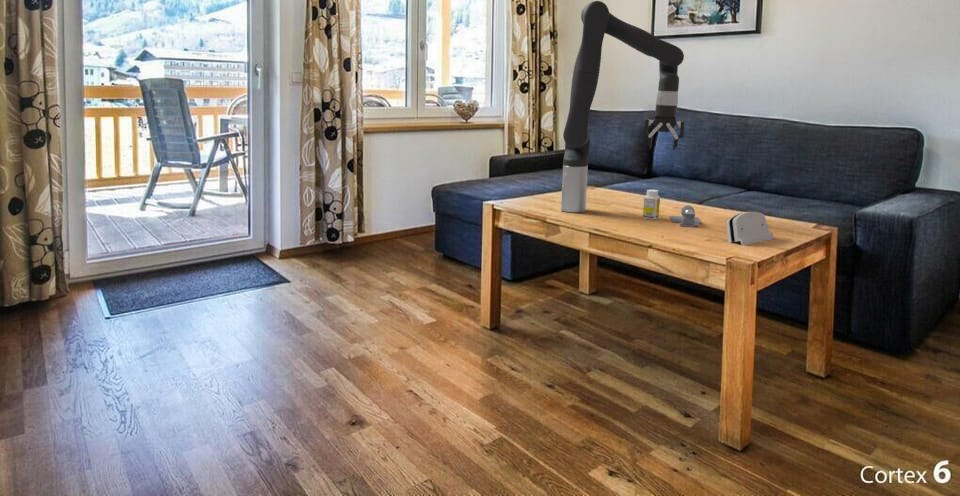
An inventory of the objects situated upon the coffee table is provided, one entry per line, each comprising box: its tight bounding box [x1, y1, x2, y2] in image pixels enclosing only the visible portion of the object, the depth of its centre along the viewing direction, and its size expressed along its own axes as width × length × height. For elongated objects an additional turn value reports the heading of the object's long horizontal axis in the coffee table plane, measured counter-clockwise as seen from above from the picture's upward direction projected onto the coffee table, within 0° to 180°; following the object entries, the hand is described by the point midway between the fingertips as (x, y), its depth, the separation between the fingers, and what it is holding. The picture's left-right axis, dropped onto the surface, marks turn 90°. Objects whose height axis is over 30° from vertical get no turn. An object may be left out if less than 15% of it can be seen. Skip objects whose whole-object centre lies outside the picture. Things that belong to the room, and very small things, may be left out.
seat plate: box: [669, 215, 703, 225], centre depth 237 cm, size 10×10×1 cm
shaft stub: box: [678, 204, 700, 228], centre depth 229 cm, size 6×7×6 cm
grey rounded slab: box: [726, 211, 775, 246], centre depth 209 cm, size 17×5×10 cm, turn 124°
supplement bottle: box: [642, 189, 661, 221], centre depth 238 cm, size 6×6×10 cm
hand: (662, 148), depth 245 cm, fingers open, 8 cm apart
